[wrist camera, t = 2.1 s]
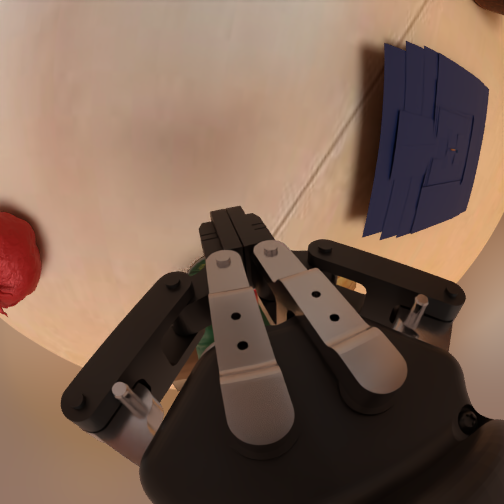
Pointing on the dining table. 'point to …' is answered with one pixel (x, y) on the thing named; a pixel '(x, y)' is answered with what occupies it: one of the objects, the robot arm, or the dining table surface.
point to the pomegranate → (17, 260)
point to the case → (492, 5)
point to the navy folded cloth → (425, 141)
